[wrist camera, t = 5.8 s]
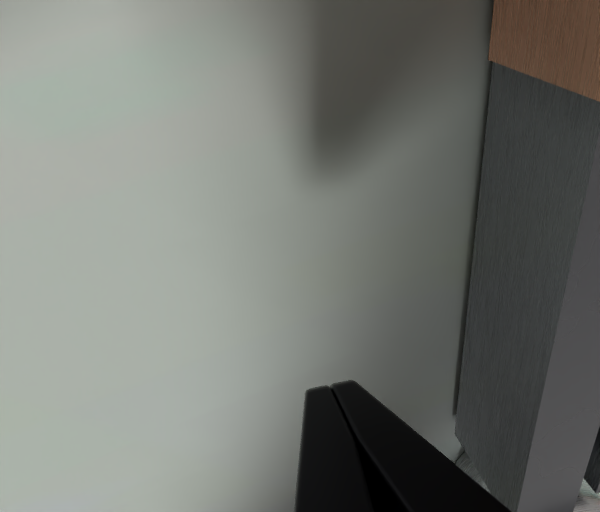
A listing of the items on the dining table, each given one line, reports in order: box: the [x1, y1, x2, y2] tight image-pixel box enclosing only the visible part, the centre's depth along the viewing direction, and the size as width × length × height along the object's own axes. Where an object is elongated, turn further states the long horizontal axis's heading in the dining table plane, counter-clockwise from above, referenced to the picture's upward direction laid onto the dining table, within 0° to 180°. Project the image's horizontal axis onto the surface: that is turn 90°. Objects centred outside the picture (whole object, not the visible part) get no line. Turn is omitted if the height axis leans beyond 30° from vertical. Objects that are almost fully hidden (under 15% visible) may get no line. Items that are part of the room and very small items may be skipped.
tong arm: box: [455, 0, 600, 512], centre depth 11 cm, size 12×2×3 cm, turn 5°
